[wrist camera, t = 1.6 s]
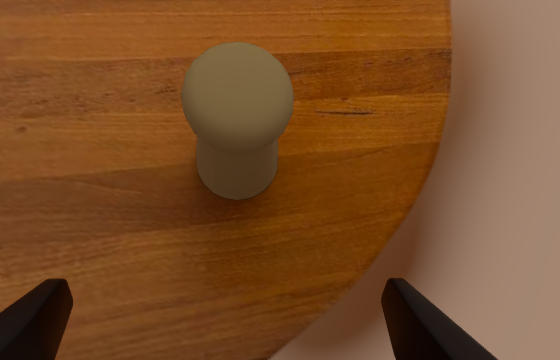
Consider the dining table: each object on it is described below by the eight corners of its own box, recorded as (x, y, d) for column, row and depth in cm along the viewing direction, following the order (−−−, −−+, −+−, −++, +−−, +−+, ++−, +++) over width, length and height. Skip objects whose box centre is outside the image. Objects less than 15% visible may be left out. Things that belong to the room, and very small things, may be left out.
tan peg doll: (244, 108, 25) (251, -3, 15) (293, 167, 25) (337, 95, 14) (179, 152, 24) (134, 62, 13) (229, 216, 23) (224, 176, 13)
